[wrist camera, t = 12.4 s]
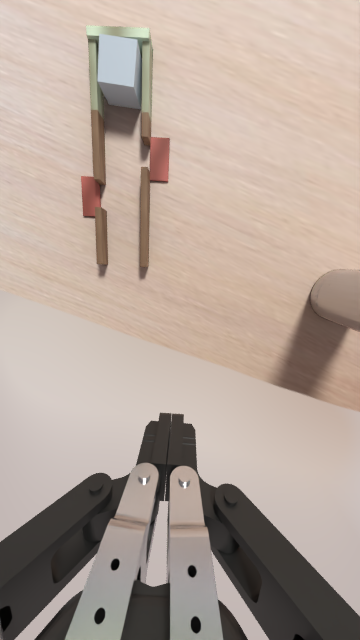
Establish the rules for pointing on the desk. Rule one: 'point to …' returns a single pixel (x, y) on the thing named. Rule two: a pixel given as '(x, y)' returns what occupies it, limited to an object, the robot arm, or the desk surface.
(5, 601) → the robot arm
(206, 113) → the desk surface
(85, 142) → the desk surface
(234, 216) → the desk surface
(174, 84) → the desk surface
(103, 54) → the slate block
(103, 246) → the frame
